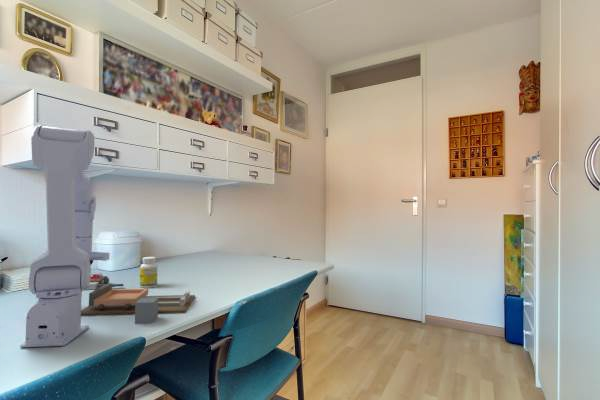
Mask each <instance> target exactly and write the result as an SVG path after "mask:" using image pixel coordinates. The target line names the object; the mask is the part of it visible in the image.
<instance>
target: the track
mask: <svg viewBox="0 0 600 400" xmlns="http://www.w3.org/2000/svg"><path fill="white" fill-rule="evenodd" d="M157 297H158V315H159V314H185V313H186V312H187V310H188V308H189V307H190V305H191V304H192V302H193V301H194V299H195V298H196V295H195V294H191V292H190V290H188V291H185V292H184V293H183V295H182V294H181V295H180V294H179V295H178V294H177V295H176V294H175V295H147V296H145V297H144V298H157ZM118 315H119V316H121V315H135V305H131V307H130V308H129V309H128V310H125V309H124V305H120V306H104V308H103V309H102V310H97V306H89V305H88V306H86V307H85V308H83V309H81V317H82V316H85V317H86V316H118Z"/></svg>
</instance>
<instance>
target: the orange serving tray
mask: <svg viewBox="0 0 600 400" xmlns="http://www.w3.org/2000/svg"><path fill="white" fill-rule="evenodd" d="M112 284H113V283H108V284H106V285H104V286H102V287H100V288H98V289H96V290H92V291H91V292H89V293H88V306H97V310H102V309H103V308H104V306H120V305H124V309H125V310H128V309H129V308H130V307H131V305H135V303H136V302H137V301H138V300H139V299H141V298H144V297H145V296H149V288H121V289H120V288H113V287H112Z"/></svg>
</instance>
